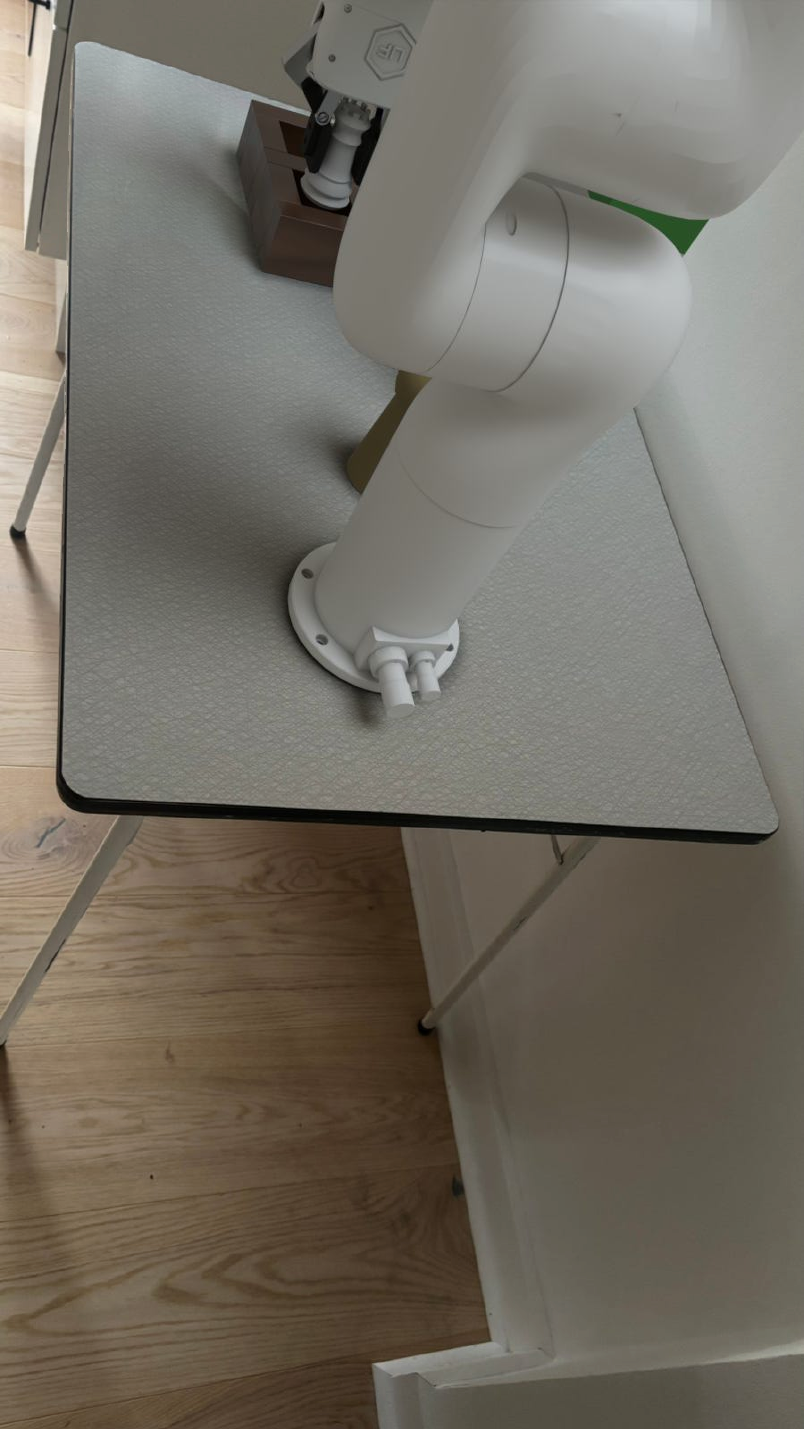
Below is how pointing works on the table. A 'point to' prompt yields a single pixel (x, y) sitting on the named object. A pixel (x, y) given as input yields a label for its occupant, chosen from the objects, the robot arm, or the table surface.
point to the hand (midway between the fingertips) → (333, 168)
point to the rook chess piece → (338, 157)
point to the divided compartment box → (286, 198)
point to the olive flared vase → (383, 429)
